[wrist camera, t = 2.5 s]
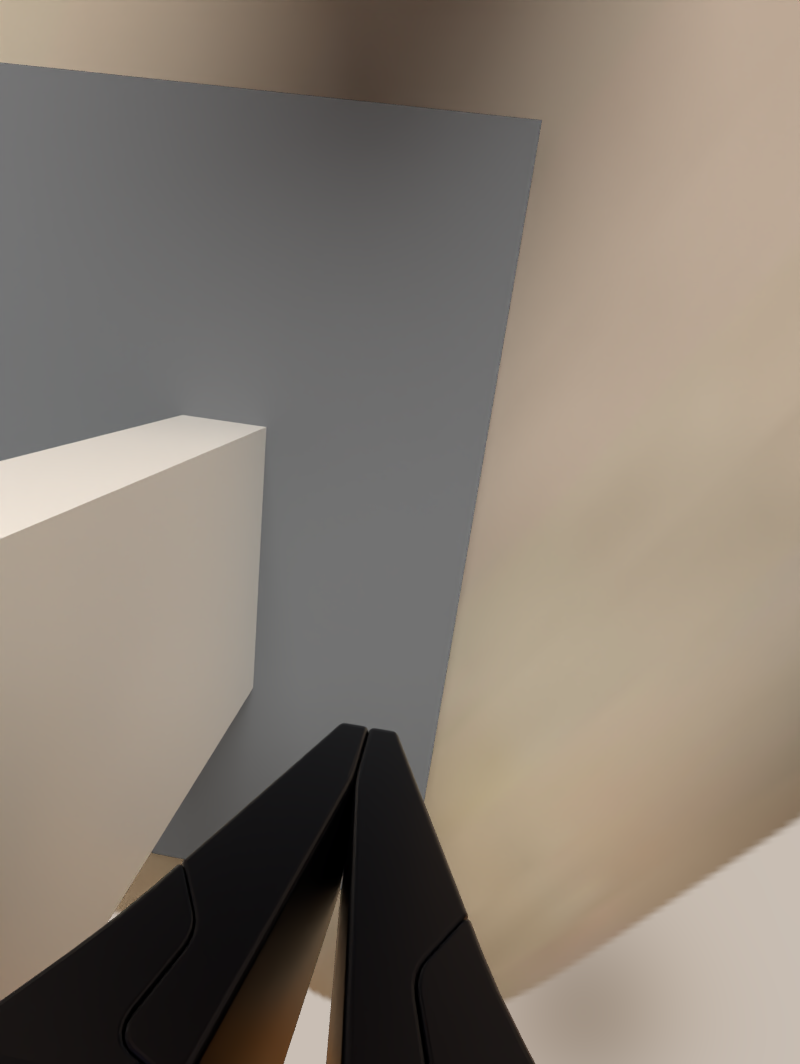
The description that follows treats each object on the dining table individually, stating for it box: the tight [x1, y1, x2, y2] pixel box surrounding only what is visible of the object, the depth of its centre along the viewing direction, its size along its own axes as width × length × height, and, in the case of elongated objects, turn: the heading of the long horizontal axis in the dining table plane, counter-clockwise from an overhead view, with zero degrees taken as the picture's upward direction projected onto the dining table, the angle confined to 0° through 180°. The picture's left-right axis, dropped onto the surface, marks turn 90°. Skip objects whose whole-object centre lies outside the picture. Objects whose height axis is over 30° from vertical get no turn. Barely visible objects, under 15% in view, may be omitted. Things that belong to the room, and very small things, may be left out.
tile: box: [0, 415, 266, 1001], centre depth 10 cm, size 2×7×9 cm, turn 173°
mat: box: [0, 63, 542, 890], centre depth 15 cm, size 20×20×1 cm
